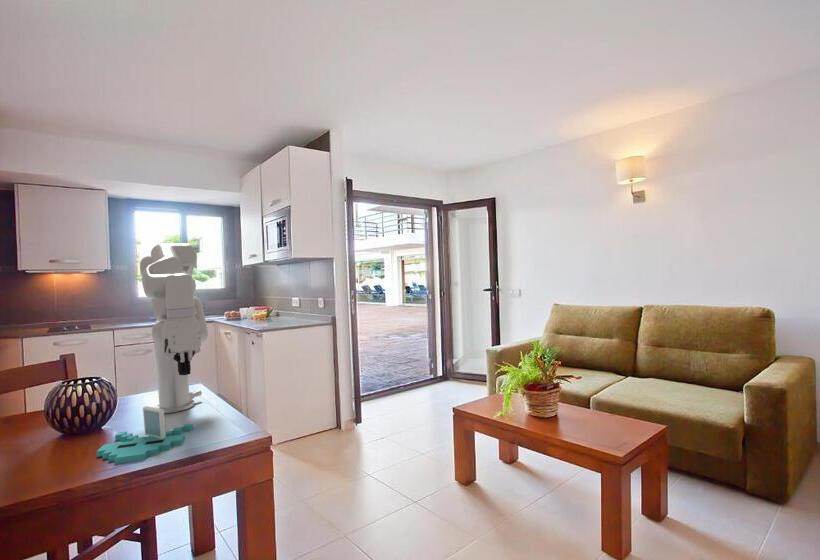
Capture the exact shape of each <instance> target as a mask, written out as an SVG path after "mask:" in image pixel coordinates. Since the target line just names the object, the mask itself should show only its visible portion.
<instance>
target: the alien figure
mask: <svg viewBox="0 0 820 560" xmlns="http://www.w3.org/2000/svg"><path fill="white" fill-rule="evenodd" d="M193 429H194V425H193V423H186V424H184V425H183V426H179V427H174V428H173V429H172V430H167V431H166V430H165V433H166V437H165V438H163V439H161V438H157V437H153V436H148V435H145V436H141V437H139V434H135V435H133V432H132V433H131V432H130V433H128V431H120V432H117V433H116V434H115V436H114V440H115V441H120V442H113V443H107V444H106V443H105V444H104V445H102V446H101V447H99V449H97V450H96V457H97V458H98V457H102V460H107V459H108V462H114V464H115V465H117V464H123V463H131V462H139V461H145V460H146V459H147V457H149V456H150V457H151V456H157V455H159V454H160V453H161V452H164V451H166V452H167V451H170V450H171V449H172V447H179V446H182V445H183V444H184V442H185V440H186V434H185V432H191V431H192V430H193ZM183 433H184V434H183Z"/></svg>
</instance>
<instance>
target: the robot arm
mask: <svg viewBox="0 0 820 560" xmlns="http://www.w3.org/2000/svg"><path fill="white" fill-rule="evenodd" d="M197 259H198V255H197V251H196V248H195V247H194V246H193V245H192V244H190V243H173V242H172V243H170V242H169V243H159V244H156V245H154V247H152V249H151V251H150V255H147V256H144V257H143V258H141V260H140V261H139V262H140V263H139V271H140V275H141V282H142V287H143V292H144V294H145V296H146V297H147V298H149V299H151V304H152V311H153V317H154V319H156V320H157V321H158V322H156V323H155V324H153V326H152V328H151V337H152V340H153V345H154V350H155V351H154V352H155V357H156V369H157V370H156V371H157V372H156V373H157V374H156V375H157V390H158V405H156V406H154V408H159V409H164V414H172V413H177V412H182V411H186V410H188V409H190V408H192V407H193V406H195V400H194V398H197V397H200V396H202V394H203V392H202V391H201V390H196V391H190V384H189V383H190V380H189V375H191V370H192V369H191V368H192V367H191V361H192V360H193V358H194V356H195V354H198V353H200V352H201V346H202V343H203V342H205V341H206V340H207V339H208V334H209V333H208V332H209V330H208V324H207V320H206V316H205V312H204V307H203V304H202V301H201V299H200V298H199V297H198V296H196V295H194V292H196V290H197V289H196V288H197V287H196V286H197V285H196V279H195V278H194V277H193V276H192V275H191V273H192V272H193V270H194V268H195V266H196V264H197Z"/></svg>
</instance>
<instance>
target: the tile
mask: <svg viewBox="0 0 820 560" xmlns="http://www.w3.org/2000/svg"><path fill="white" fill-rule="evenodd" d="M142 415H143V427H144V435H145V436H153V437H157V438H161V439H163V438H165V437H166V433H165V431H166V424H165V421H166V420H165V413H164V409H159V408H155V407H153V406H144V407H142Z"/></svg>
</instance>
